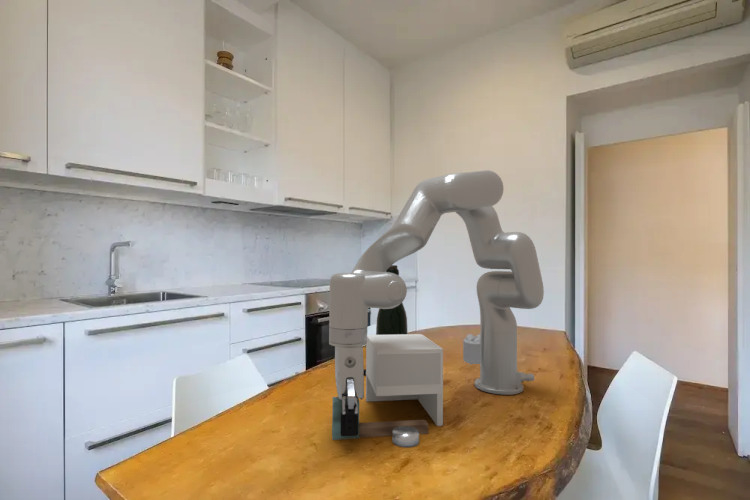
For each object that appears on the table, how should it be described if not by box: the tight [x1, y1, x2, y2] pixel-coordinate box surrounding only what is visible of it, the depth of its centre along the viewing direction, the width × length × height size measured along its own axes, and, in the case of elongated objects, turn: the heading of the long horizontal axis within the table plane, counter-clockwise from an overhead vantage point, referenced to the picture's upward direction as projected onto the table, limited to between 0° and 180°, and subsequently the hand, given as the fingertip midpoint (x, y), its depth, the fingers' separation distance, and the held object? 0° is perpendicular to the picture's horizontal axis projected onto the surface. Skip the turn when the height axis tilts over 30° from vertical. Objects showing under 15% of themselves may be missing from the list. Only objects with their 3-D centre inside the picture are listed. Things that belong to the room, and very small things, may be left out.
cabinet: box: [365, 333, 444, 427], centre depth 88 cm, size 14×17×16 cm
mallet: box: [331, 396, 429, 441], centre depth 77 cm, size 19×3×7 cm, turn 98°
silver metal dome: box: [391, 426, 420, 449], centre depth 73 cm, size 5×5×2 cm
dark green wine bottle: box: [375, 264, 409, 335], centre depth 126 cm, size 10×10×33 cm
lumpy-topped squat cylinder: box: [462, 333, 480, 365], centre depth 135 cm, size 10×13×9 cm
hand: (347, 424), depth 76 cm, fingers open, 9 cm apart
